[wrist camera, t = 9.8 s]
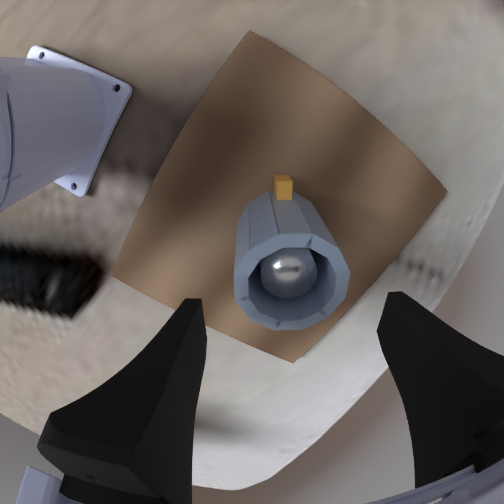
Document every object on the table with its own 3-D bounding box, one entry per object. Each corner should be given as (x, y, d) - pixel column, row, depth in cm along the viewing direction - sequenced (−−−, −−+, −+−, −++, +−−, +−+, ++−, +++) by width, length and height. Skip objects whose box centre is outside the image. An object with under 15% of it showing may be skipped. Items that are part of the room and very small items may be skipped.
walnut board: (115, 267, 20) (110, 275, 19) (249, 33, 13) (249, 30, 13) (291, 354, 25) (293, 363, 24) (439, 187, 18) (447, 191, 17)
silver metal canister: (249, 237, 18) (250, 283, 14) (273, 203, 17) (283, 240, 13) (284, 257, 19) (294, 306, 15) (309, 225, 18) (328, 268, 14)
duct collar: (239, 267, 19) (236, 331, 14) (236, 174, 16) (230, 210, 11) (316, 265, 19) (339, 327, 14) (324, 174, 16) (359, 210, 11)
